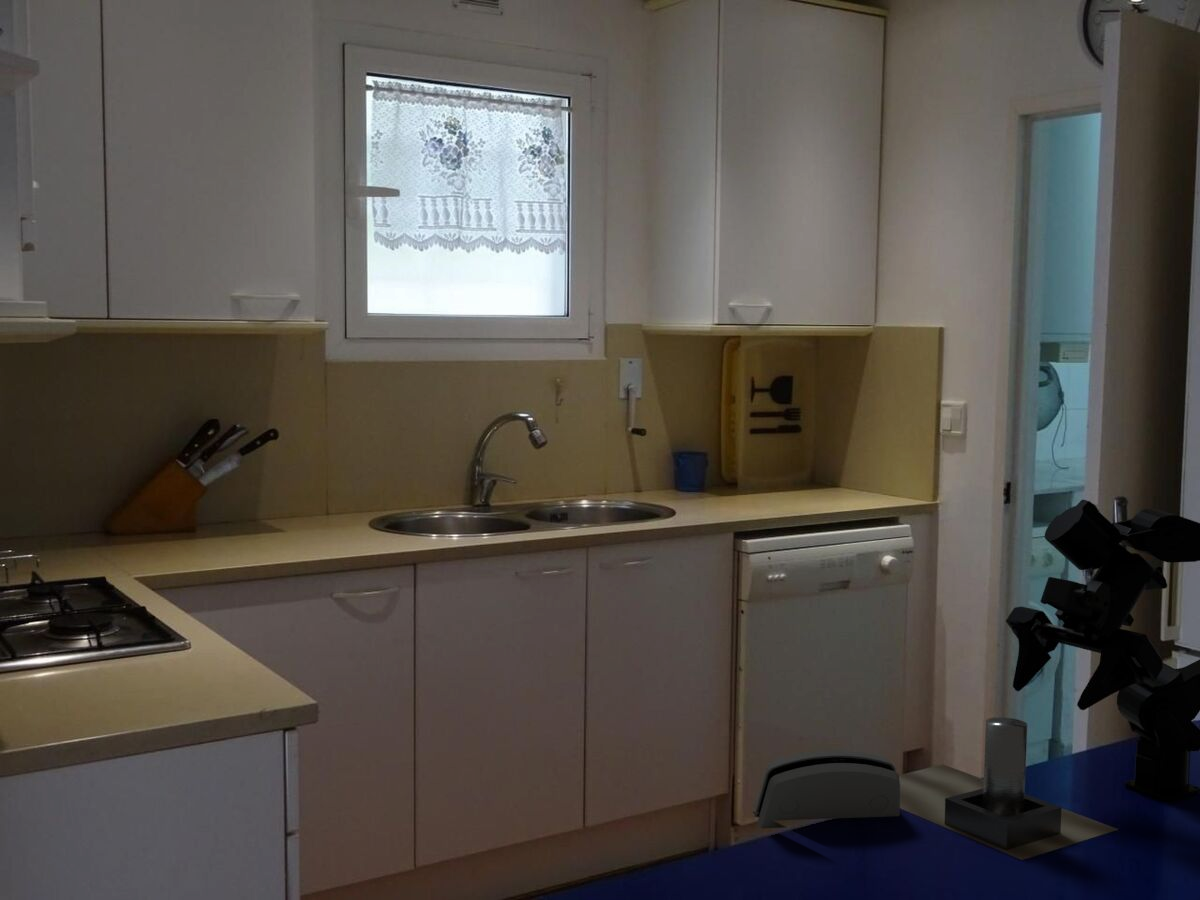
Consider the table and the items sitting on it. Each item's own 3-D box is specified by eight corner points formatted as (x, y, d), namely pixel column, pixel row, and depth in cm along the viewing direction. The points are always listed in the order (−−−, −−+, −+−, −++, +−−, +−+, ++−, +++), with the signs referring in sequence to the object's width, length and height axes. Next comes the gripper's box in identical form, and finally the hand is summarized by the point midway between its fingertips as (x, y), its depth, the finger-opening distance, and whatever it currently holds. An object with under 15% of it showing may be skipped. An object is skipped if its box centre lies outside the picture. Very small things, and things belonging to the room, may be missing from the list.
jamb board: (942, 771, 172) (943, 764, 172) (1118, 838, 150) (1118, 829, 150) (850, 795, 163) (850, 787, 163) (1021, 868, 141) (1022, 859, 141)
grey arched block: (887, 809, 159) (899, 741, 155) (899, 836, 155) (912, 767, 151) (749, 814, 158) (757, 745, 153) (757, 841, 153) (765, 772, 149)
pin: (988, 818, 153) (992, 715, 152) (1027, 826, 151) (1032, 721, 150) (976, 830, 149) (980, 724, 148) (1016, 838, 147) (1020, 730, 146)
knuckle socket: (997, 809, 156) (998, 784, 156) (1060, 833, 149) (1061, 807, 148) (944, 824, 151) (945, 798, 151) (1006, 850, 144) (1007, 823, 144)
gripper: (1018, 541, 166) (953, 640, 161) (1152, 564, 150) (1084, 675, 145) (1058, 597, 171) (996, 695, 166) (1191, 625, 155) (1127, 734, 150)
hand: (1046, 698), depth 157 cm, fingers open, 9 cm apart
